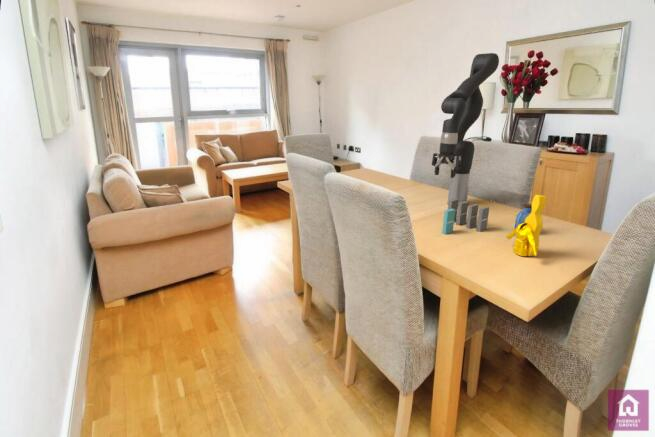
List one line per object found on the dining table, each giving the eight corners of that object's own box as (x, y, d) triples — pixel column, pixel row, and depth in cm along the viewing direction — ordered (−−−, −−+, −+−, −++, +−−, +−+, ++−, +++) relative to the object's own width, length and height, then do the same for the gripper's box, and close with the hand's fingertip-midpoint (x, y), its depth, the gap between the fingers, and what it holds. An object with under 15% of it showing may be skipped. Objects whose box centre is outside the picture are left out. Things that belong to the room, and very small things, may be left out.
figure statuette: (500, 244, 140) (509, 189, 133) (519, 243, 141) (529, 188, 133) (529, 265, 123) (540, 203, 116) (550, 263, 124) (563, 202, 117)
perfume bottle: (530, 230, 154) (535, 203, 150) (532, 235, 149) (538, 207, 145) (514, 228, 156) (518, 202, 152) (516, 233, 151) (521, 206, 147)
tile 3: (472, 225, 161) (475, 203, 158) (475, 226, 159) (478, 204, 156) (465, 227, 158) (468, 205, 155) (469, 228, 157) (472, 206, 153)
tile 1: (453, 219, 168) (455, 198, 165) (456, 220, 167) (458, 199, 164) (446, 221, 166) (448, 200, 162) (449, 222, 164) (452, 201, 161)
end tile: (449, 230, 154) (451, 208, 151) (452, 231, 153) (455, 209, 150) (442, 233, 152) (444, 210, 148) (445, 234, 150) (447, 211, 147)
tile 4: (482, 228, 157) (485, 206, 154) (486, 229, 156) (489, 207, 152) (476, 230, 154) (479, 208, 151) (479, 231, 153) (483, 209, 150)
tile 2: (462, 222, 165) (465, 201, 161) (465, 223, 163) (468, 202, 160) (456, 224, 162) (458, 203, 159) (459, 225, 160) (461, 203, 157)
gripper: (466, 143, 168) (461, 177, 172) (440, 140, 178) (436, 173, 183) (458, 144, 163) (453, 179, 168) (431, 141, 173) (427, 174, 178)
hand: (444, 176), depth 175 cm, fingers open, 8 cm apart
